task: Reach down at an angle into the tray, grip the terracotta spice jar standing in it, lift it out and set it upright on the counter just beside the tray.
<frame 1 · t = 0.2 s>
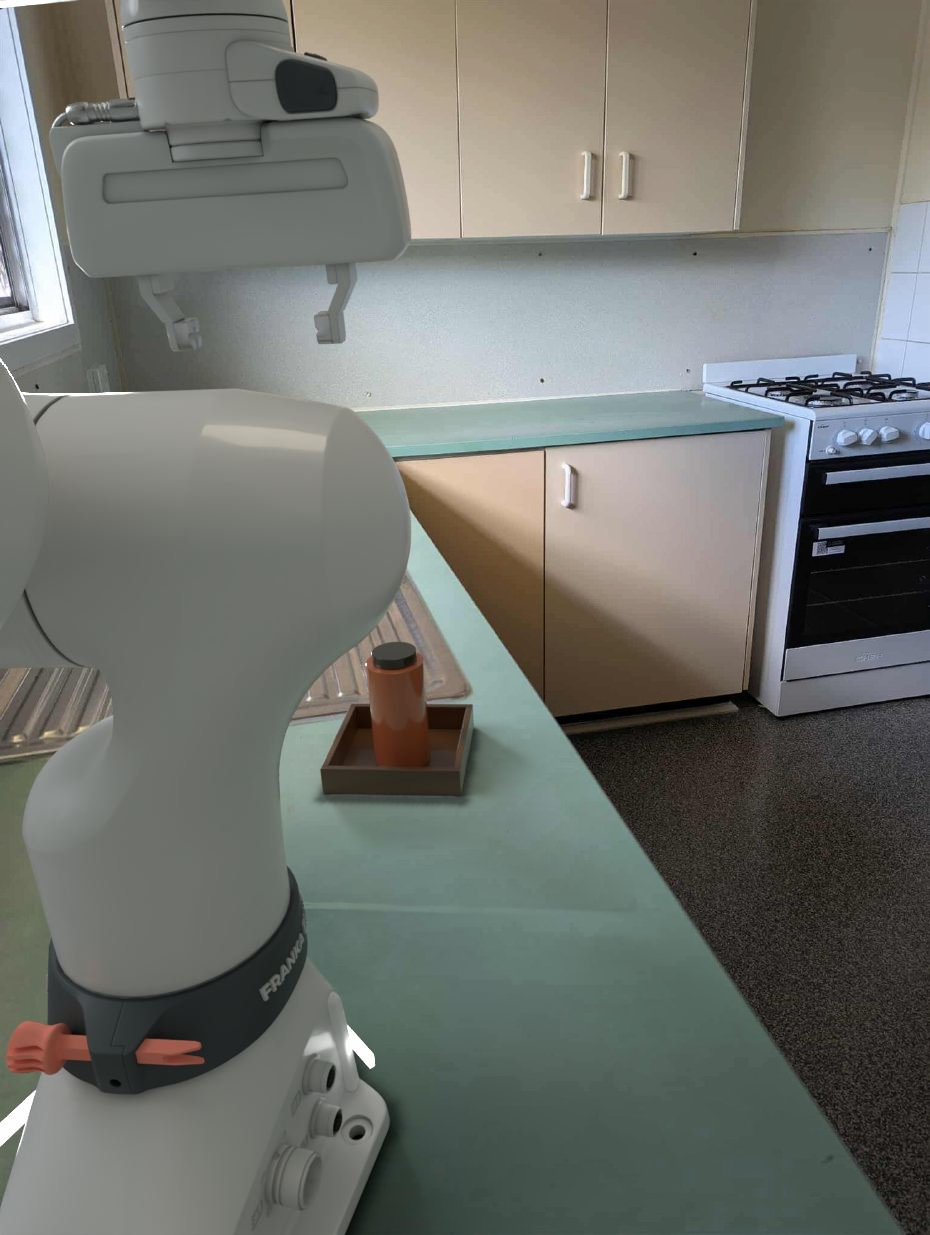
hand: (259, 346, 55), 39 cm above the worktop, tool pointing down, fingers open, 8 cm apart
spice jar: (403, 757, 82), point 1 cm above the worktop, touching tray
tray: (403, 763, 82), on the worktop
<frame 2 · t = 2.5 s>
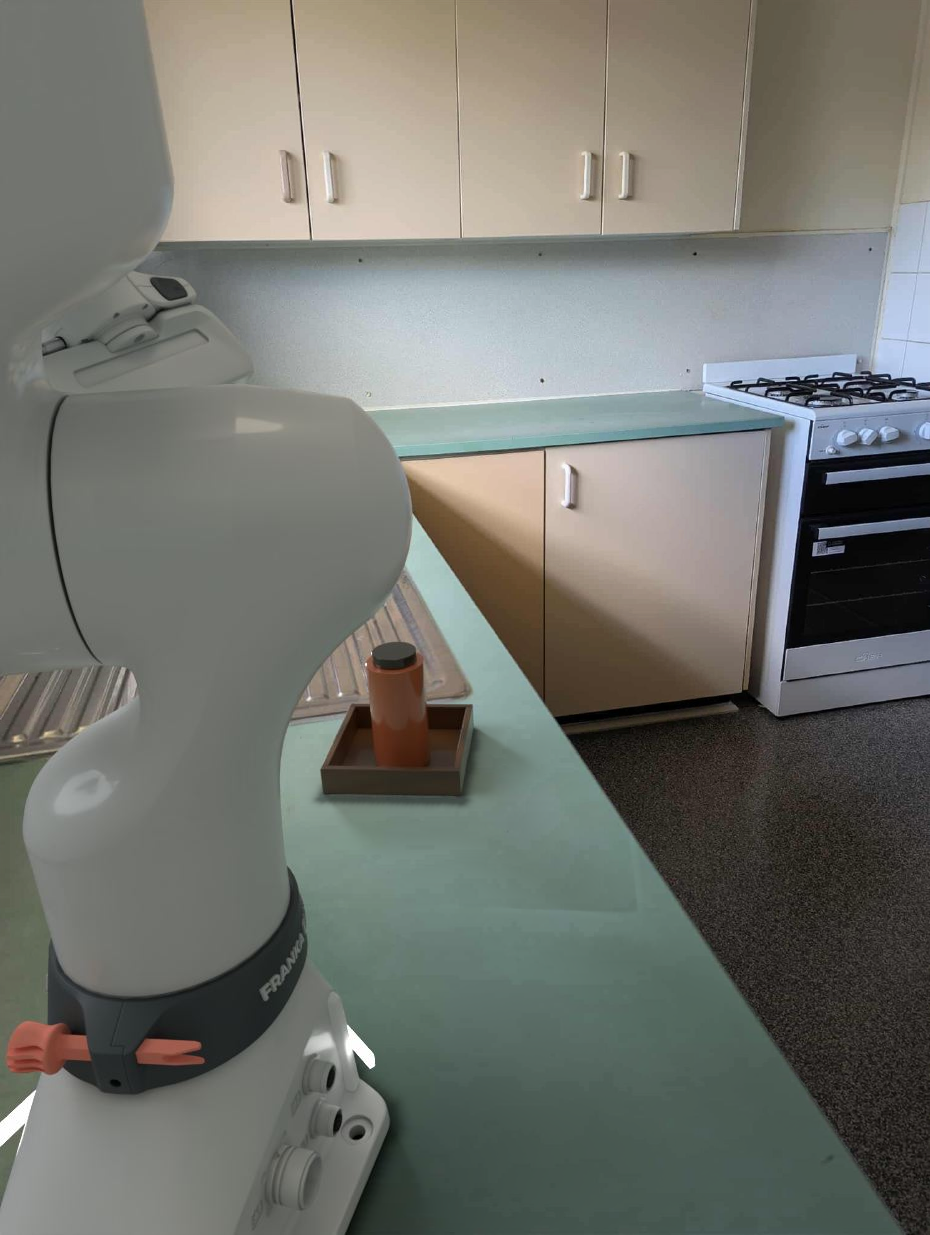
hand: (214, 458, 72), 29 cm above the worktop, tool tilted 40°, fingers open, 8 cm apart
nothing on the worktop moved.
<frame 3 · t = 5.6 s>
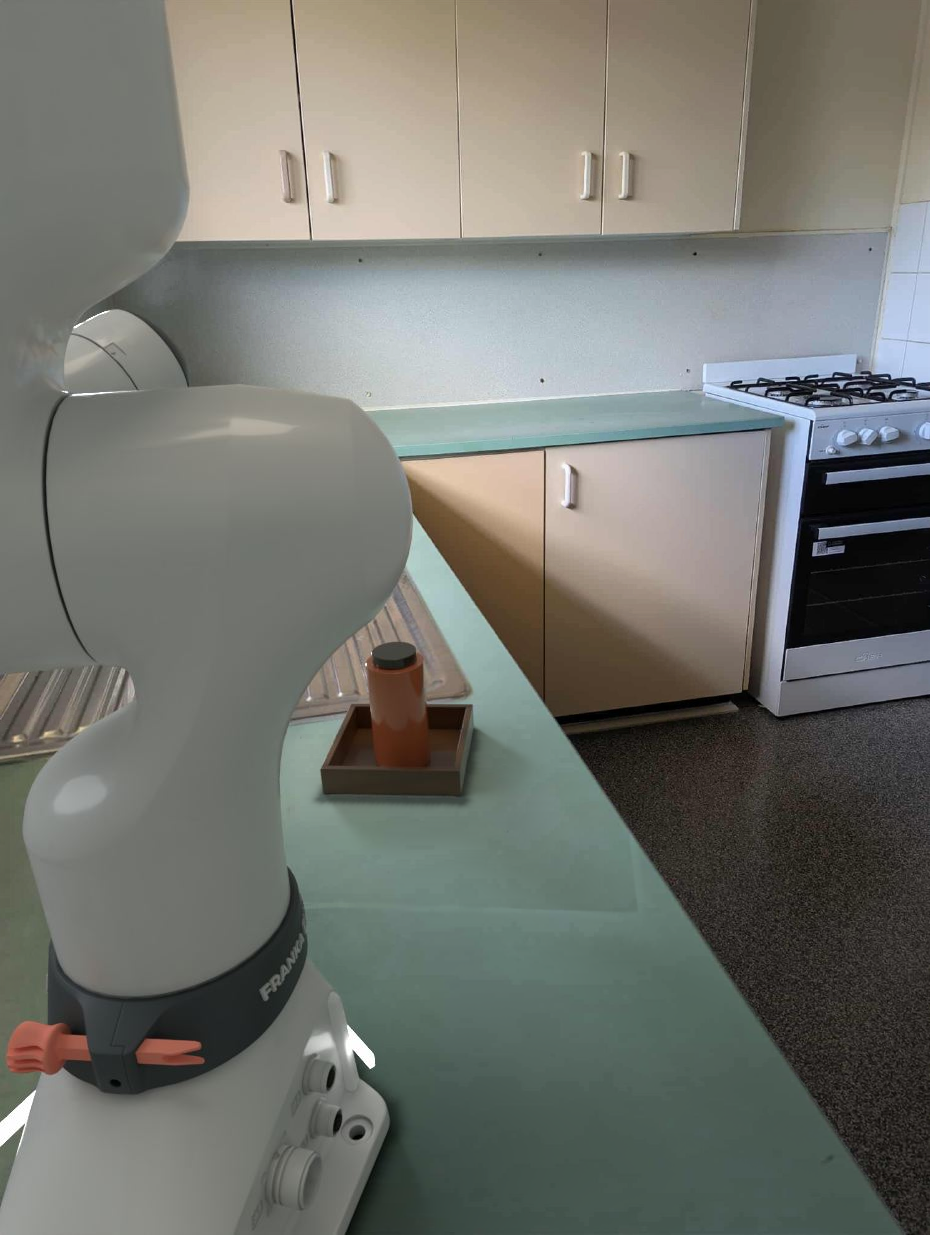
hand: (287, 614, 78), 15 cm above the worktop, tool tilted 45°, fingers open, 8 cm apart
nothing on the worktop moved.
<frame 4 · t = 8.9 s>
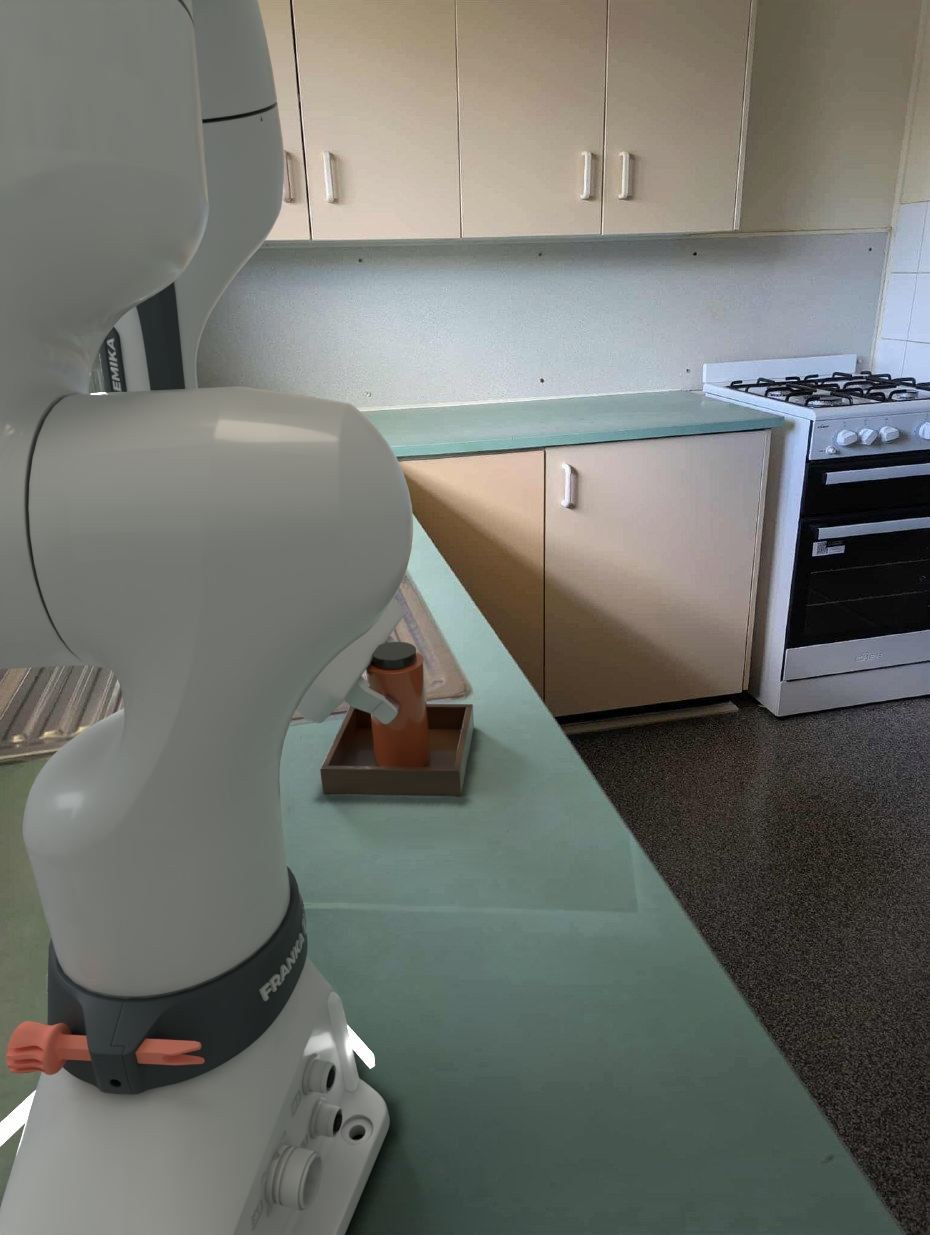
hand: (404, 699, 79), 7 cm above the worktop, tool tilted 45°, fingers closed on spice jar, 5 cm apart
spice jar: (402, 758, 82), point 1 cm above the worktop, touching tray, gripper
everything else where it was.
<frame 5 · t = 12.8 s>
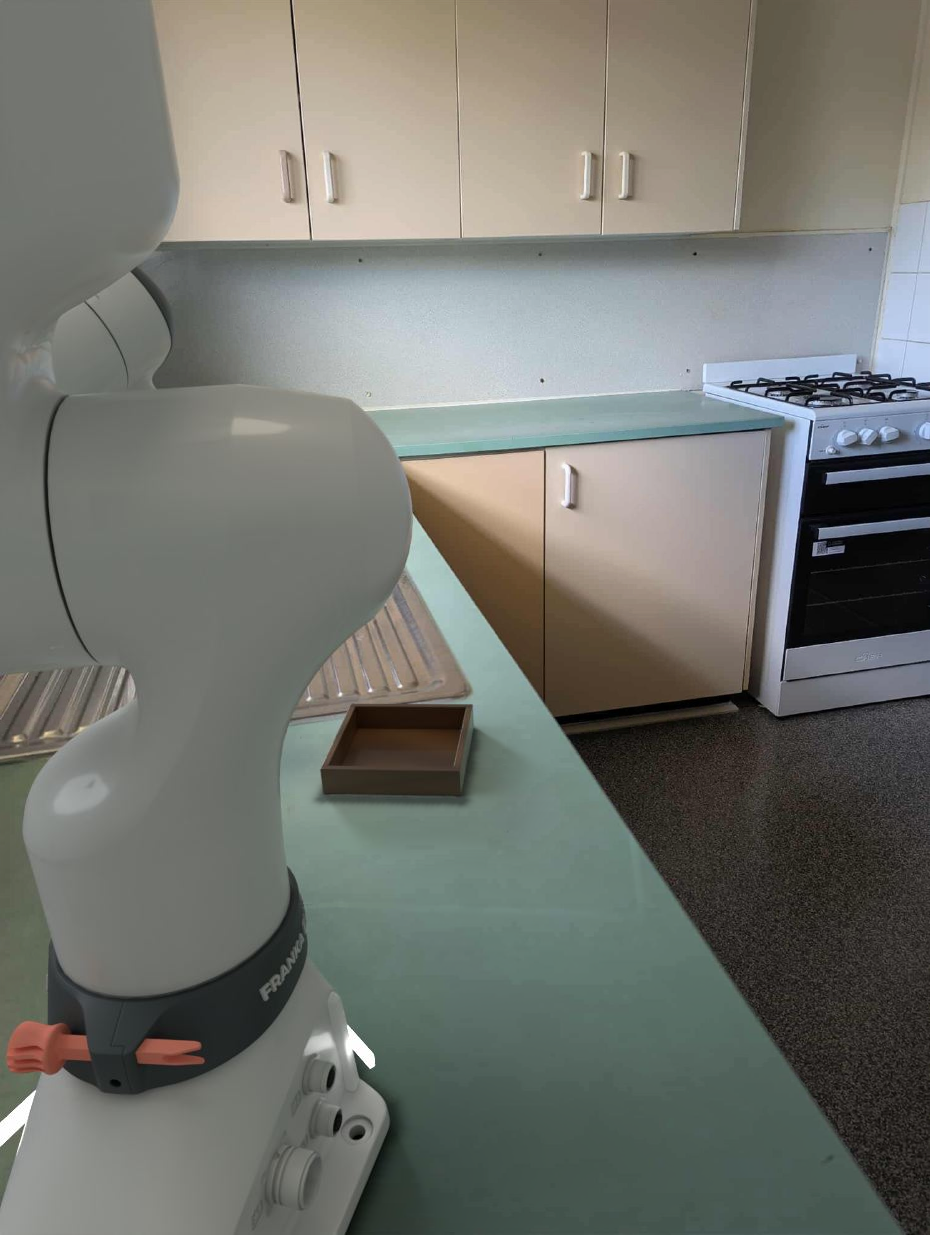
hand: (283, 573, 75), 19 cm above the worktop, tool tilted 45°, fingers closed on spice jar, 5 cm apart
spice jar: (284, 639, 77), point 13 cm above the worktop, touching gripper
everything else where it was.
when the fingers open (6 cm above the worktop, at t = 17.1 s): spice jar stays where it is, on the worktop.
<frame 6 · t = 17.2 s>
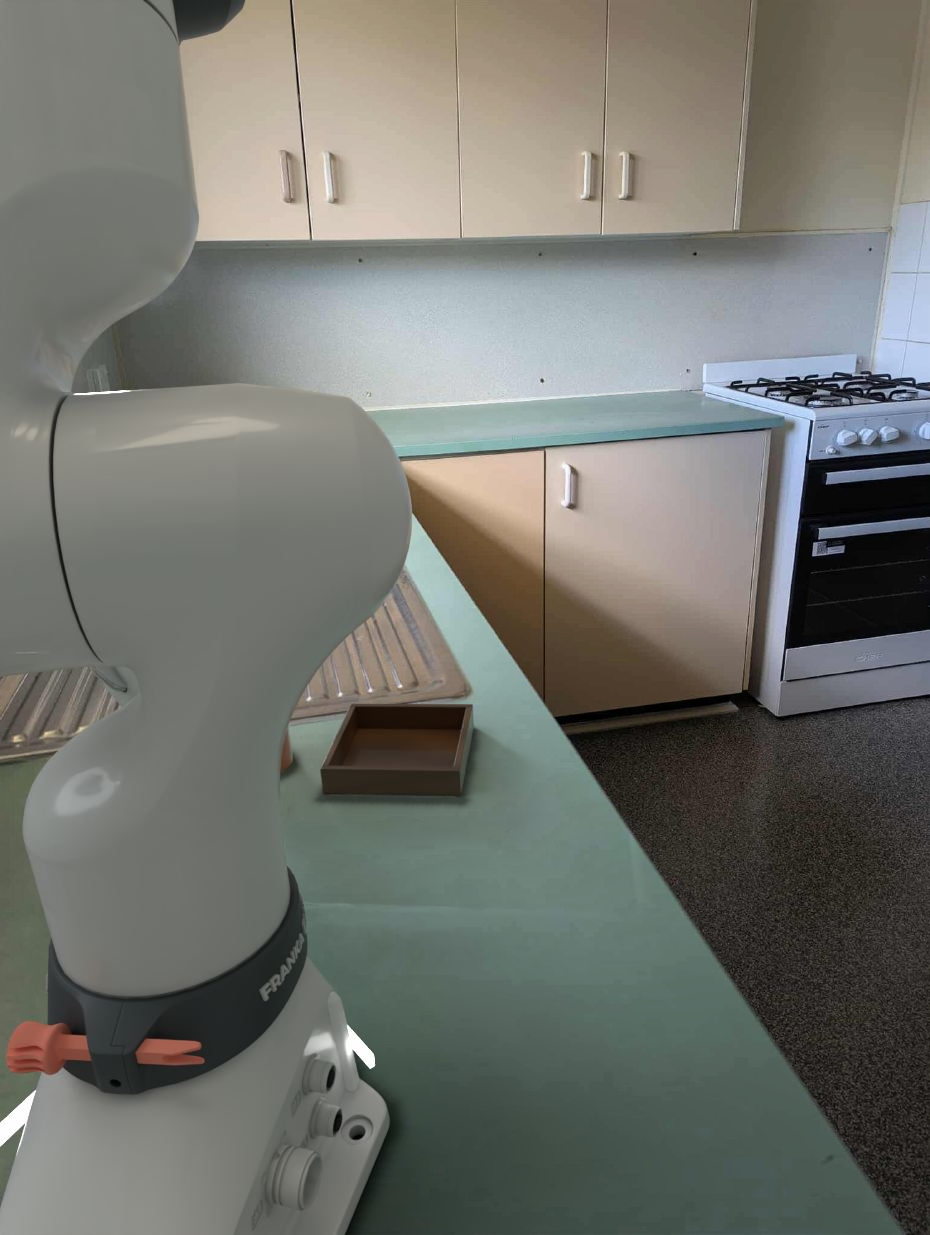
hand: (263, 711, 80), 6 cm above the worktop, tool tilted 45°, fingers open, 5 cm apart
spice jar: (265, 767, 82), on the worktop
everything else where it was.
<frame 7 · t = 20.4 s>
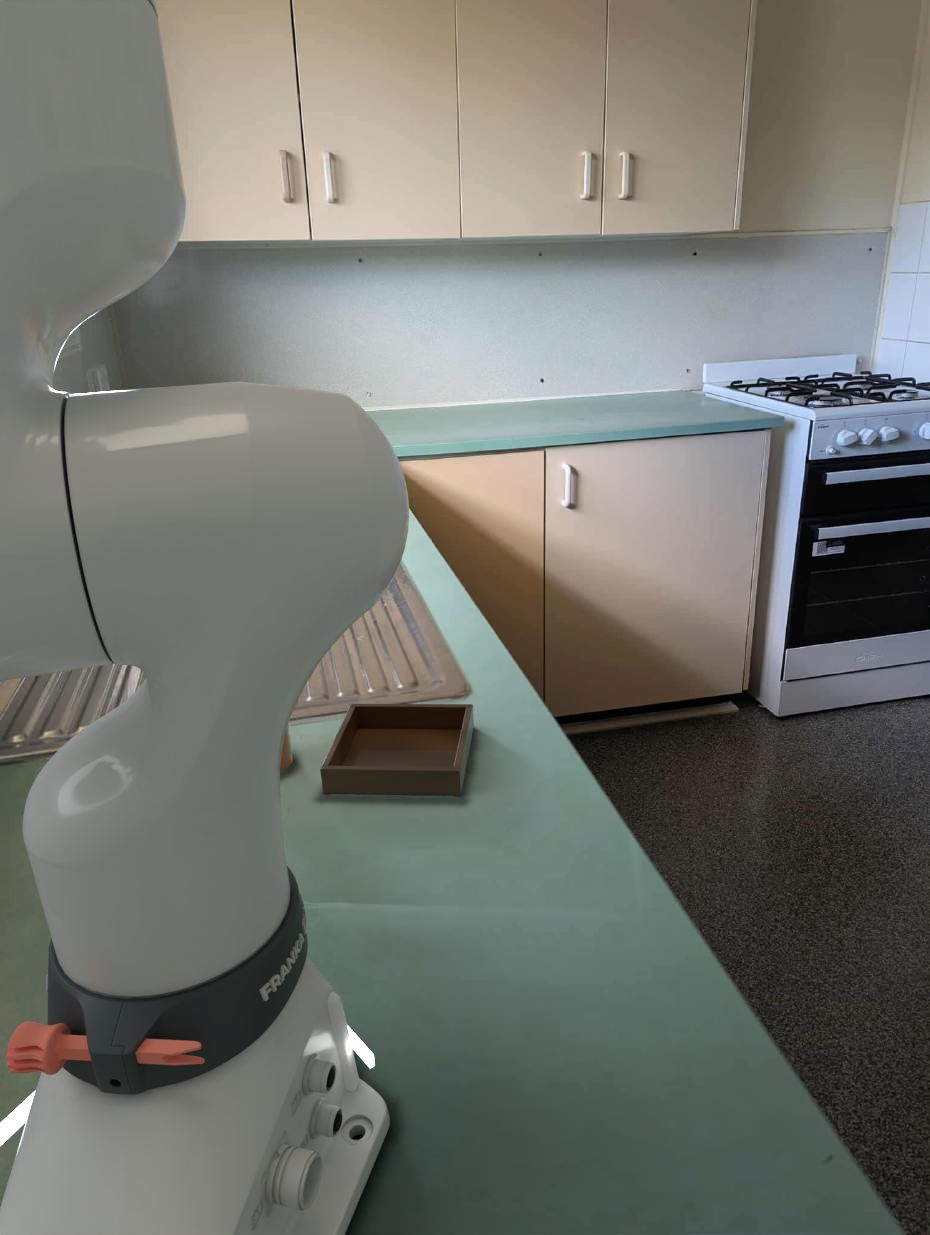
hand: (131, 602, 79), 16 cm above the worktop, tool tilted 45°, fingers open, 8 cm apart
nothing on the worktop moved.
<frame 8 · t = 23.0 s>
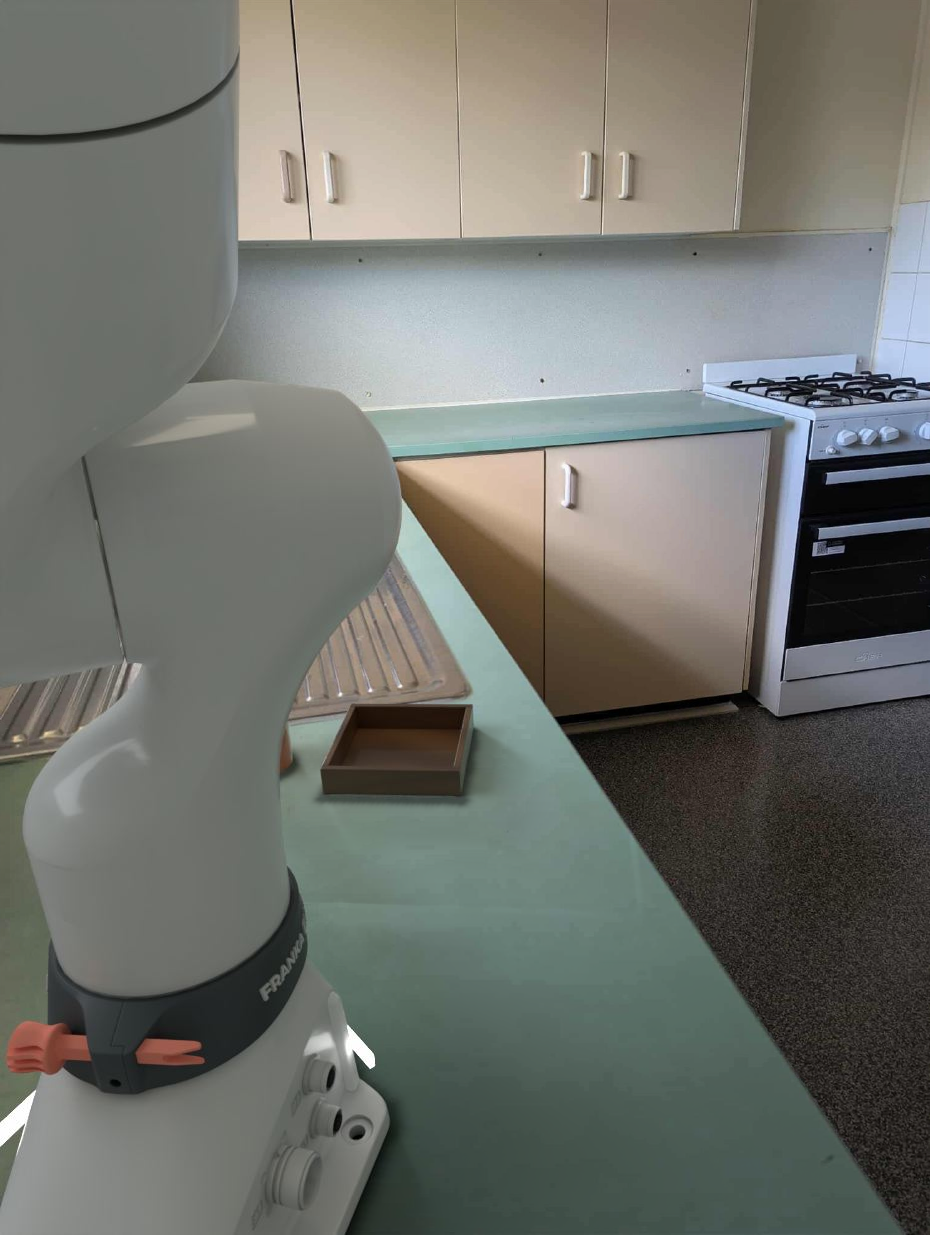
hand: (114, 479, 67), 29 cm above the worktop, tool pointing down, fingers open, 8 cm apart
nothing on the worktop moved.
at the end: spice jar inside the target area (0.2 cm from its centre), on the worktop; spice jar tilted 0°; the gripper is holding nothing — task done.
